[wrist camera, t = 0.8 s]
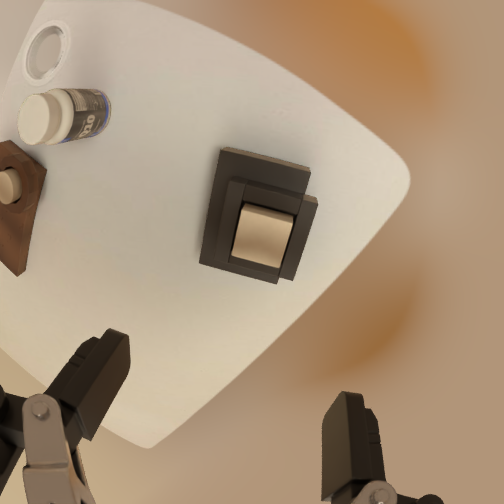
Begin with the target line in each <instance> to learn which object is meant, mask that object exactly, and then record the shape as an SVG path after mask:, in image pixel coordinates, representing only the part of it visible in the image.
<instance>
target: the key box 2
mask: <svg viewBox="0 0 504 504" xmlns="http://www.w3.org/2000/svg"><path fill="white" fill-rule="evenodd" d="M310 174H311V172H310V168H308V167H304V166H301V165H297V164H294V163H290V162H286V161H283V160H279V159H275V158H271V157H267V156H263V155H259V154H255V153H251V152H247V151H243V150H238V149H234V148H230V147H225V148H223V149H221V150H220V154H219V159H218V164H217V169H216V174H215V179H214V184H213V189H212V194H211V199H210V204H209V209H208V215H207V220H206V225H205V231H204V237H203V242H202V248H201V254H200V260H199V263H200V264H203V265H207V266H210V267H214V268H218V269H221V270H225V271H229V272H232V273H236V274H240V275H243V276H247V277H251V278H254V279H258V280H262V281H266V282H269V283H273V284H277V282H278V279H279V277H280V278H284V279H288V280H291V281H293V279H294V276H295V274H296V271H297V268H298V265H299V262H300V259H301V256H302V253H303V250H304V247H305V244H306V241H307V238H308V235H309V232H310V229H311V225H312V222H313V219H314V216H315V213H316V210H317V207H318V202H317V198H316V197H312V196H309V195H305V191H306V188H307V185H308V181H309V178H310ZM245 203H247V204H251V205H255V206H259V207H263V208H266V209H270V210H274V211H278V212H281V213H285V214H289V215H292V216H293V225H292V228H291V232H290V235H289V238H288V242H287V245H286V248H285V251H284V255H283V258H282V261H281V264H280V267H279V268H276V267H272V266H269V265H265V264H261V263H258V262H254V261H250V260H246V259H243V258H239V257H235V256H232V255H231V254H232V250H233V245H234V241H235V237H236V232H237V228H238V223H239V219H240V215H241V210H242V209H243V207H244V205H245Z"/></svg>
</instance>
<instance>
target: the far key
mask: <svg viewBox="0 0 504 504" xmlns="http://www.w3.org/2000/svg"><path fill="white" fill-rule="evenodd" d="M21 194H22V182H21V178H20V176H19V174H18V171H17V170H15V169H13V168H11V169H8V170H5V171H2V172H0V201H1V202H2V203H4V204H9V203H12V202H14V201H16V200H18V199H19V198H20V197H21Z"/></svg>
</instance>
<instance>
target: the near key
mask: <svg viewBox="0 0 504 504" xmlns="http://www.w3.org/2000/svg"><path fill="white" fill-rule="evenodd" d="M292 225H293V216H292V215H289V214H285V213H281V212H278V211H274V210H270V209H266V208H263V207H259V206H255V205H251V204H247V203H245V205H244V207H243V209H242V210H241V215H240V219H239V223H238V228H237V232H236V237H235V241H234V245H233V250H232V254H231V255H232V256H235V257H239V258H243V259H246V260H250V261H254V262H258V263H261V264H265V265H269V266H272V267H276V268H279V267H280V264H281V261H282V258H283V255H284V251H285V248H286V245H287V242H288V238H289V235H290V232H291V228H292Z"/></svg>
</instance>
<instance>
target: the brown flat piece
mask: <svg viewBox="0 0 504 504" xmlns="http://www.w3.org/2000/svg"><path fill="white" fill-rule="evenodd" d="M11 168H13V169H15V170H17V171H18V174H19V176H20V178H21V182H22V194H21V197H20V198H19V199H18V200H16V201H14V202H12V203H9V204H4V203H2V202H1V201H0V261H1V262H2V263H3V264H4V265H5V266H6V267H7V268H8V269H9V270H10V271H11V272H12V273H14V274H15V275H16V276H17V277H18V276H19V275H20V274H22V273H23V272H24V271H25V270H26V263H27V256H28V250H29V244H30V239H31V233H32V228H33V223H34V219H35V214H36V210H37V205H38V201H39V197H40V193H41V190H42V186H43V182H44V179H45V175H46V172H47V169H45V168H44V167H43V166H42V165H40V164H39V163H38V162H37V161H35V160H34V159H33V158H32V157H30V156H29V155H28V154H27V153H25V152H24V151H23V150H22V149H21V148H19V147H18V146H17V145H16V144H14V143H13V142H12V141H11V140H8V141H4V142H0V172H2V171H5V170H8V169H11Z"/></svg>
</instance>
